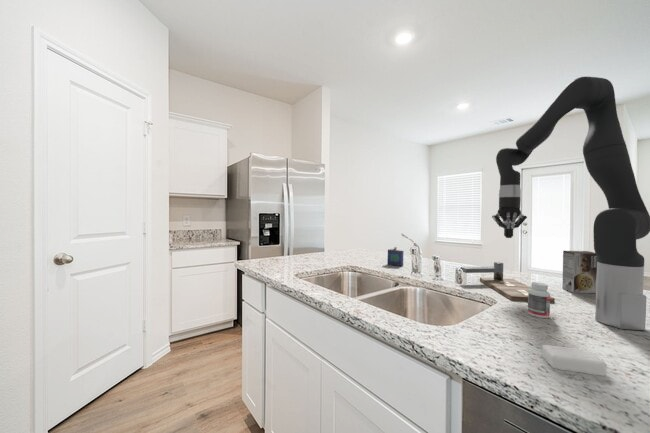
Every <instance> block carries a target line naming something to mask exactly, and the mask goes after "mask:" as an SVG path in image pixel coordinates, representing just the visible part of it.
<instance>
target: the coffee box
mask: <svg viewBox="0 0 650 433" xmlns="http://www.w3.org/2000/svg"><path fill="white" fill-rule="evenodd" d="M562 252H563V253H562V254H563V255H562V281H561V282H562V284H561V285H562V286H561V288H563V289H562V290H565V291H567V290H568V291H567V292H570V293H572V294H596V279H597V262H598V261H597V255H596V253H595V251H594V252H593V251H589V250H563V251H562Z"/></svg>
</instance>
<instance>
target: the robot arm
mask: <svg viewBox="0 0 650 433" xmlns="http://www.w3.org/2000/svg"><path fill="white" fill-rule="evenodd" d="M575 109H580V110H583V111H584V112H585V116H586V119H587V122H588V123H587V124H588V132H587V135H586V137H585V139H584V142H583V146H582V155H583V158H584V159H583V160H584V162H585V166H586V169H587V171H588V173H589V175H590V176H591V178H592V179H593V181H594V182H595V183H596V184H597V186H598V187H599V188H600V190H601V191H602V192H603V195H604V196H605V199H606V202H607V205H608V208H606V209H604V210H601V211H600V212H599V213H598V214H597V215H596V216H595V219H594V222H593V250H594V253H596V255H597V261H598V262H597V279H596V293H595V313H594V314H595V315H594V316H595V320H596V321H597V322H599V323H602V324H604V325H608V326H611V327H614V328H616V329H617V328H618V329H621V330H635V331H636V330H637V331H646V319H647V318H646V316H647V299H648V298H647V296H646V295H645V294H644V278H645V277H644V274H645V258H644V256H643V254H641V253H640V252H639V251H638V248H637V240H641V239H643V238H645V237H646V236H648V234H649V233H650V213H649V211H648V209H647V207H646V204H645V203H644V200H643V198H642V196H641V194H640V190H639V188H638V186H637V180H636V176H635V173H634V169H633V166H632V162H631V158H630V154H629V151H628V147H627V144H626V140H625V138H624V135H623V131H622V127H621V123H620V120H619V117H618V111H617V102H616V94H615V89H614V86H613V83H612V81H611V80H609V79H607V78H605V77H598V76H596V77H595V76H580V77H577V78H576V79H574V80H572V81H571V82H569V83H568V84H567V85H566V86H565V88H564V89H562V91H561V92H560V93H559V95H558V96H557V97H556V98H555V99H554V101H553V102H552V103H551V104H550V105H549V106H548V107H547V109H546V110H545V111H544V112H543V113H542V115H541V116H540V117H539V119H537V120H536V121H535V123H534V124H533V125H532V126H530V128H528V129H527V130H526V131H525V132H524V133H523V134H521V135H520V136H519V138H517V139H516V142H515V145H516V147H515V148H514V147H513V148H512V147H504V148H501V149H500V150H499V151H497V153H496V155H495V156H496V157H495V161H496V162H495V163H496V167H497V169H498V173H499V179H500V181H499V190H498V192H499V193H498V210H497V212H496V214H492V216H491V218H492V219H493V221H494V222H496V224H497V225H498V227H499V228H502V229H503V235H504V237H505V238H506V239H512V238H513V236H514V230H515V229H517V228H519V227H520V226H521V225H522V224H523V223H524V222H525V220H526V219H528V216H526V215H525V214H523V213H522V211H521V200H522V199H521V198H522V188H521V172H520V171H517V170H515V169H514V167H515V166H517V167H518V166H519V165H522V164H523V163H525V162H526V161H527V160H528V158H529V157H530V155H531V154H532V152H534V150H535V149H537V148H538V147H539V146H540V145H542V144H543V143H544V142H545V141H546V140H548V138H550V136H551V135H552V133H553V131H554V129H555V127H556V125H557V124H558V122H559V121H560V120H561V119H562V118H563V117H564V116H566V115H567V114H568V113H570V112H571V111H573V110H575ZM501 219H502V220H501Z"/></svg>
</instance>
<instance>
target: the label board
mask: <svg viewBox="0 0 650 433" xmlns="http://www.w3.org/2000/svg"><path fill="white" fill-rule="evenodd" d="M479 282H481V283H482V284H484V285H486V286H487V287H490V288H491V289H492V290H494V291H495V292H497V293H499V294H500V295H502V296H504V297H505V298H507V299H509V300H510V301H514V302H515V301H517V302H528V291H529V290H530V289H532V287H531V286H528V285H527V284H526V283H525V284H524V283H522V282H520V281H519V280H516V279H513V278H503V280H497V279H494V277H479ZM555 299H556V298H554V297H552V296H550V304H551V303H555V302H556V301H555Z"/></svg>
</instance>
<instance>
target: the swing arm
mask: <svg viewBox="0 0 650 433" xmlns="http://www.w3.org/2000/svg"><path fill="white" fill-rule="evenodd" d="M459 269H462V270H463V273H465V274H473V273H474V274H475V273H476V274H477V273H478V274H480V273H482V274H484V273H485V274H486V273H487V274H488V273H493V278H494V279H497V280H503V279H504V263H503V262H500V261H499V262H498V261H494V262H493V266H461V267H459Z"/></svg>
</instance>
